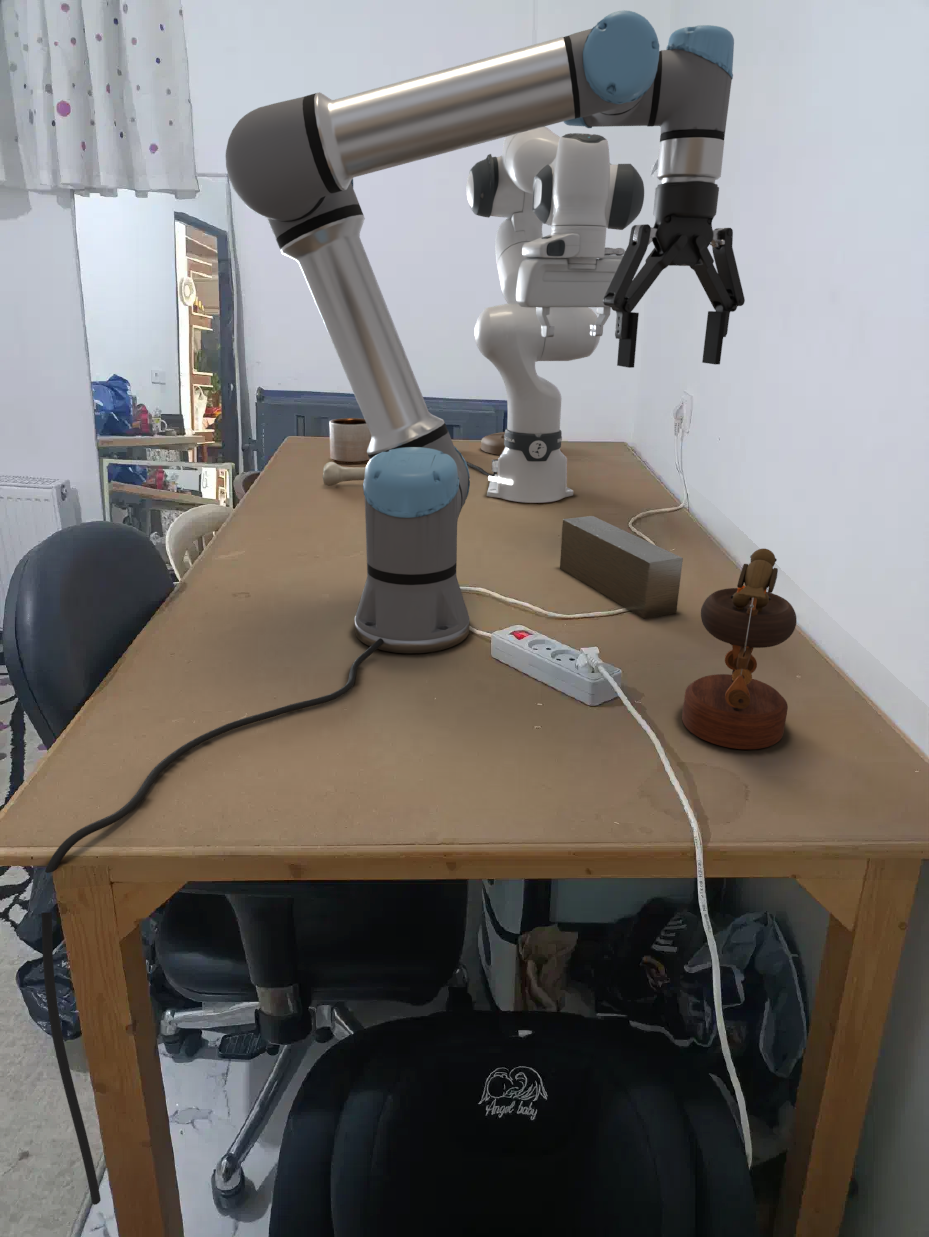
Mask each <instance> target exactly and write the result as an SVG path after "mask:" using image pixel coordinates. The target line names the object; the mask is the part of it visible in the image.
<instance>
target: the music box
mask: <svg viewBox="0 0 929 1237" xmlns="http://www.w3.org/2000/svg"><path fill="white" fill-rule="evenodd" d="M749 557H750V563H743V565H742V568H741V571H740V574H739V577H738V580H737V585H736V586H737V587H732V588H729V587H728V588H722V589H718V590H716V591H714V592H712V593H711V594H709V595H708V597H706V598H705V600H704V601H703V603H702V605H701V608H700V620H701V623H702V625H703V627H704V628H705V630H706V631H707V632H708V633H709V634H710V636H712V637H714V638H715V639H716V640H719V641H721V642H723V643H726V644H729V645H730V646H732V649H730V650H729V651H727V652H726V654H725V656H724V663H725V665H726V667H727V668H728V669H730V670H732V671H731V674H727V673H725V674H724V673H722V674H721V673H720V674H710V675H705V676H702V677H700V678H697V679H696V680H694V681H692V682H691V683H690V684H688V685H687V686H686V688H685V691H684V698H683V707H682V714H681V721H682V724H683V726H685V728H686V729H687V730H688V731H689V732H690V733H691V734H693V735H694V736H696V737H698V738H699V739H701V740H704V742H705V741H706V742H708V743H710V744H714V745H717V746H721V747H725V748H730V749H738V750H759V749H764V748H769V747H771V746H774V745H775V744H777V743H778V742H780V741H781V740H782V738H783V737H784V731H785V726H786V721H787V716H788V709H789V706H788V702H787V701H786V698H784V696H783V695H782V694H781V693H780V692H779V691H778V690H777V689H775V687H772V686H771V685H769V684H768V683H765V682H764V681H761V680H758V679H755V678H753V673H754V672H755V671H756V669H757V668H758V661H757V659H756V657H755V656H754V655H753V654H752V653H753V650H754V649H763V648H764V649H765V648H771V647H775V646H778V645H780V644H783V643H784V642H786V641H787V640H788V639H790V638H791V636H792V635H793V634H794V632H795V630H796V627H797V613H796V611H795V608H794V607H793V606H792V604H791V603H790V602H789V601H788V600H787V599H785V598H784V597H782V596H780V595H777V594H776V593H773V592H774V589H775V586H776V582H777V578H778V574H779V573H778V572H779V569H778V567H774V566H775V564H776V562H777V560H778V559H777V558H776V556H775V554H774V552H773V551H772V550H771V549H769V548H759V549H756V550H754V552H753V553H752V554H751V555H750V556H749Z"/></svg>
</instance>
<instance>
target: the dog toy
mask: <svg viewBox="0 0 929 1237" xmlns="http://www.w3.org/2000/svg"><path fill="white" fill-rule="evenodd" d="M365 468H366V467H347V466H343V465H342V466H341V465H339V464H337V462H335V461H329V462H327V463H325V464H324V466H323V469H322V470H323V471H322V483H323V484H324V485H327V486H334V485H338V484H340V483H342V482H350V481H351V482H352V481H364V479H365Z"/></svg>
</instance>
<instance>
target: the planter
mask: <svg viewBox="0 0 929 1237" xmlns="http://www.w3.org/2000/svg"><path fill="white" fill-rule="evenodd" d="M328 424H329V425H328V426H329V453H330V454H329V455H330V456H329V457H330V459H331V460H332V461H333V462H334V463H341V464H363V463H368V462H369V461H370V459H369V456H368V454H367V449H368V447H369V444H370V442H371V436H372V435H371V433H370V431H369V428H368V426H367V424H366V421H365V419H364V418H362V417H361V418H360V417H342V418H341V417H340V418H335V419H334V418H333V419H331V420H329V421H328Z"/></svg>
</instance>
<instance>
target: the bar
mask: <svg viewBox="0 0 929 1237" xmlns="http://www.w3.org/2000/svg"><path fill="white" fill-rule="evenodd" d="M560 542H561V544H560V559H559V560H560V561H559V569H560V570H562V572H565V573H567V574H568V575H570V576H572V577H573V578H574V579H577V580H578V581H580V582H582V583H584V584H585V585H587V586H588V587H590V588H591V589H593V590H595V591H597V592H598V593H600V594H601V595H603V596H605V597H607V598H609V599H610V600H611V601H613V602H615V603H617V604H618V605H620V606H622V607H623V608H625V609H627V610H628V611H630V612H632V613H634V614H635V615H637V616H639V617H640V618H641V619H643V620H646V619H652V618H657V617H663V616H668V615H669V616H670V615H675V614H677V612H678V603H679V594H680V586H681V578H682V577H681V576H682V568H683V561H684V557H681V556H680V555H678V554H675V553H673V552H671V551H669V550H667V549H665V548H663V547H660V546H658V545H656V544H654V543H652V542H649V541H647V540H646V539H643V538H641V537H638V536H637V535H634V534H633V533H631V532H628V531H626V530H624V529H622V528H619V527H617V526H616V525H613V524H610V523H609V522H608V521H605V520H602V519H600V518H599V517H596V516H594V515H588V516H579V517H568V518H563V519H562V528H561V541H560Z"/></svg>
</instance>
